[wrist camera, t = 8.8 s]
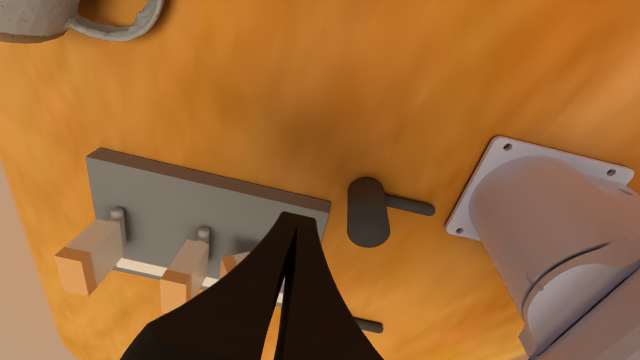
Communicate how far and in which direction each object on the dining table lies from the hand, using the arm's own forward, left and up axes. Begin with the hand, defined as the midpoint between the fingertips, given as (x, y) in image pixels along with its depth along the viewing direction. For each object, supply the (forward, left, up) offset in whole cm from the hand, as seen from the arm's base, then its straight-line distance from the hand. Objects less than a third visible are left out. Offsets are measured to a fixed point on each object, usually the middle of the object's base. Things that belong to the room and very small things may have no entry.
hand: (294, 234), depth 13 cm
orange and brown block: (+7, +11, -8) cm, 15 cm away
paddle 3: (+13, +11, -8) cm, 19 cm away
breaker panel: (+7, +11, -10) cm, 16 cm away
